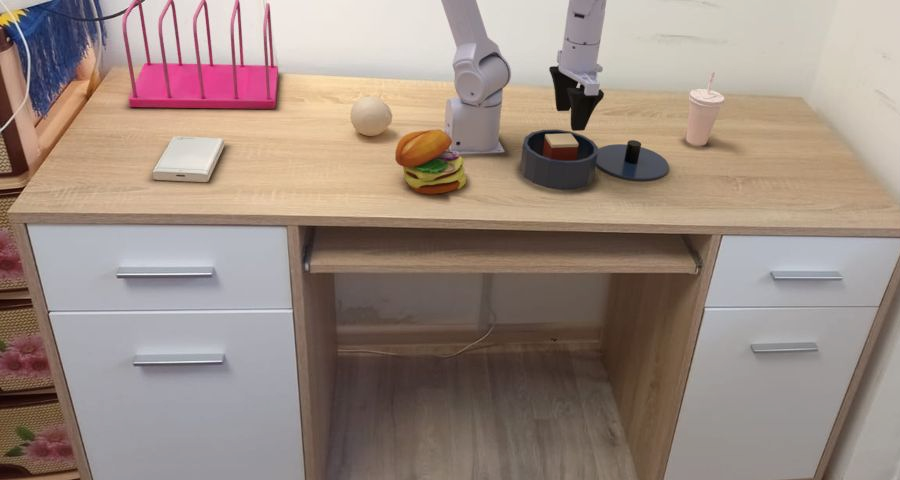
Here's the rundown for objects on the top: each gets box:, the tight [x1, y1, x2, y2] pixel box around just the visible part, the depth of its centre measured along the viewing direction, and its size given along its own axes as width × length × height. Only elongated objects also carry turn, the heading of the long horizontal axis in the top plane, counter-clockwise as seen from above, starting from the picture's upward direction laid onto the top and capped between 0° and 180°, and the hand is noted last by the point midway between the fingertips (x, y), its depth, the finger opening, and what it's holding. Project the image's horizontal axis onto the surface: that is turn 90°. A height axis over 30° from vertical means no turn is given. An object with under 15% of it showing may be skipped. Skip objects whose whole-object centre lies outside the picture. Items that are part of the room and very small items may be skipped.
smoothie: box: [685, 70, 725, 146], centre depth 153 cm, size 6×6×14 cm
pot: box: [519, 128, 599, 191], centre depth 139 cm, size 12×12×6 cm
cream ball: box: [350, 96, 393, 137], centre depth 146 cm, size 7×7×7 cm
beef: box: [542, 133, 579, 161], centre depth 139 cm, size 5×4×6 cm
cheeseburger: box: [394, 128, 467, 195], centre depth 132 cm, size 10×11×10 cm
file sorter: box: [121, 0, 279, 110], centre depth 152 cm, size 17×25×16 cm
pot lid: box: [595, 139, 669, 182], centre depth 145 cm, size 13×13×4 cm
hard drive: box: [152, 135, 225, 183], centre depth 132 cm, size 2×8×12 cm
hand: (570, 119), depth 137 cm, fingers open, 7 cm apart
